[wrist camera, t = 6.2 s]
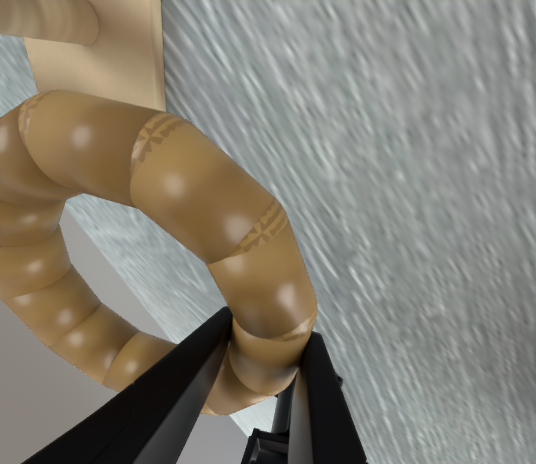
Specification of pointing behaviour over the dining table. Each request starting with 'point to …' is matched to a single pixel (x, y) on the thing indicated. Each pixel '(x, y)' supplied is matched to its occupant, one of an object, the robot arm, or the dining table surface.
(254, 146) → the dining table surface
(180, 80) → the dining table surface
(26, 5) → the stand
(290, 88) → the dining table surface
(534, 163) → the dining table surface
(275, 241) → the ring
